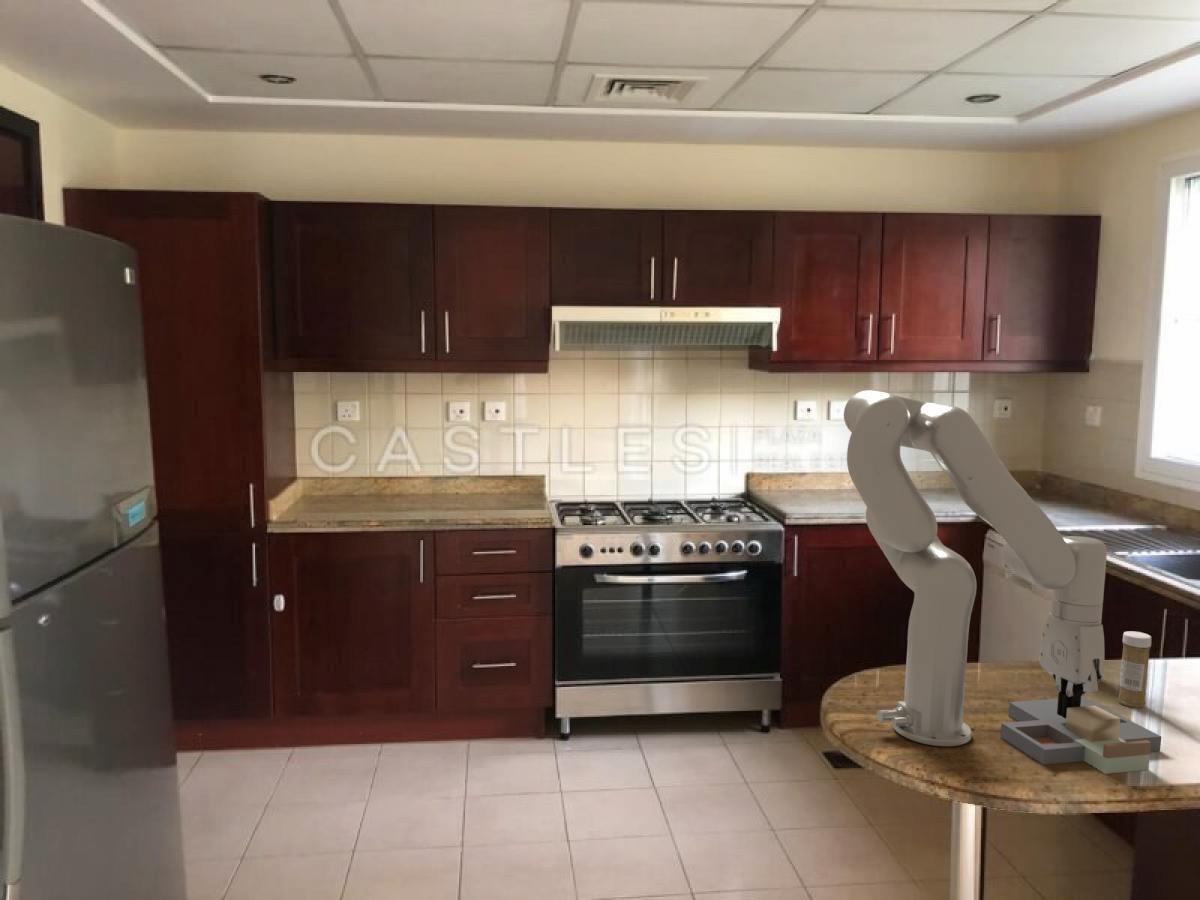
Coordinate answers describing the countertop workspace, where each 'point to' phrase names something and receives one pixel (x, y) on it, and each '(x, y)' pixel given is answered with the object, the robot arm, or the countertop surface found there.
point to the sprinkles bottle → (1134, 669)
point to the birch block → (1092, 723)
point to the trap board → (1076, 739)
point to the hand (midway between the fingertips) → (1068, 715)
